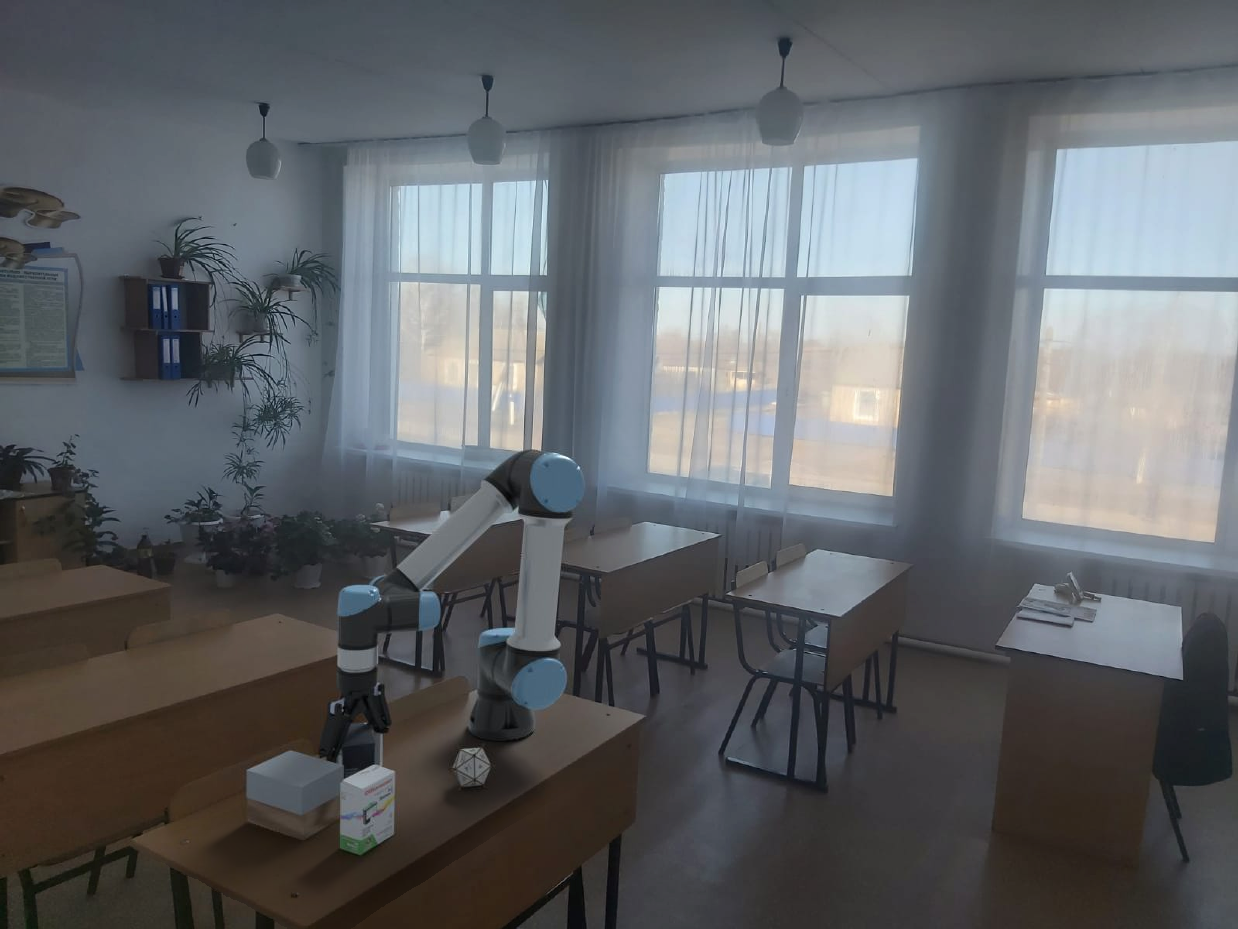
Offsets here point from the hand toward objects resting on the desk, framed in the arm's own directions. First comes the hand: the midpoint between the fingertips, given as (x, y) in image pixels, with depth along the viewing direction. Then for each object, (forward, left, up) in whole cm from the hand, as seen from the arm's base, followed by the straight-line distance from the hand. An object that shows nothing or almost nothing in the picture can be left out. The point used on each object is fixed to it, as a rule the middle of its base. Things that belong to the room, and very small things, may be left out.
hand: (355, 776), depth 174 cm
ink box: (+16, +16, -2) cm, 23 cm away
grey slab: (+16, 0, +3) cm, 16 cm away
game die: (-10, +20, -2) cm, 22 cm away
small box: (0, 0, -2) cm, 2 cm away
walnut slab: (+16, 0, -2) cm, 16 cm away
